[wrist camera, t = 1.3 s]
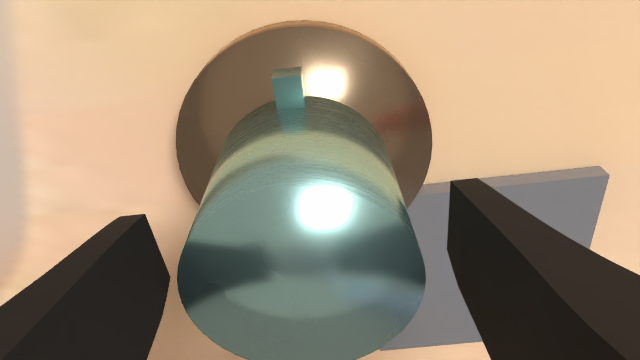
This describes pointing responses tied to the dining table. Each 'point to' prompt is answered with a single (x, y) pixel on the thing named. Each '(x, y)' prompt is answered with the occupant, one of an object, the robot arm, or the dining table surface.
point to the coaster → (432, 230)
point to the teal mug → (302, 236)
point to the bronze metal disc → (319, 80)
